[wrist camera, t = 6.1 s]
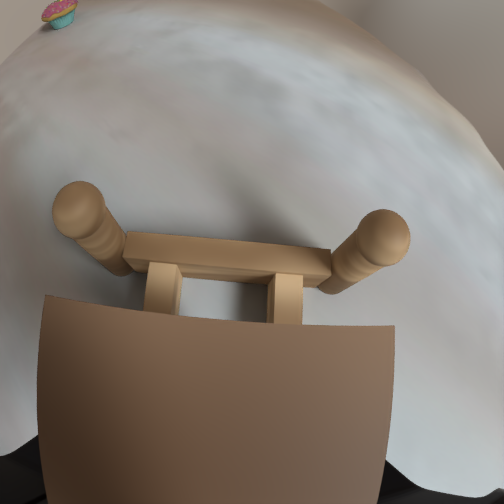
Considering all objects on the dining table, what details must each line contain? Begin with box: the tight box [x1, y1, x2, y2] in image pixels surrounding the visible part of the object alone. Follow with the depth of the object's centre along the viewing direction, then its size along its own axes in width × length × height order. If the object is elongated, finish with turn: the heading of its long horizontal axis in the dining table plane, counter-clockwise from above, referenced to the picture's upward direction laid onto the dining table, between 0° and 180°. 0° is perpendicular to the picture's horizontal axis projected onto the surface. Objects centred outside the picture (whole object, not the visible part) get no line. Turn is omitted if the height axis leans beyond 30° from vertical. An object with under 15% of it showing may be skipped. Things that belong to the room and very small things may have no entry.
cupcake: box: [41, 0, 78, 29], centre depth 32 cm, size 9×8×12 cm
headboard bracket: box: [52, 181, 410, 325], centre depth 18 cm, size 10×21×11 cm, turn 87°
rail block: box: [37, 295, 395, 504], centre depth 9 cm, size 5×5×13 cm
